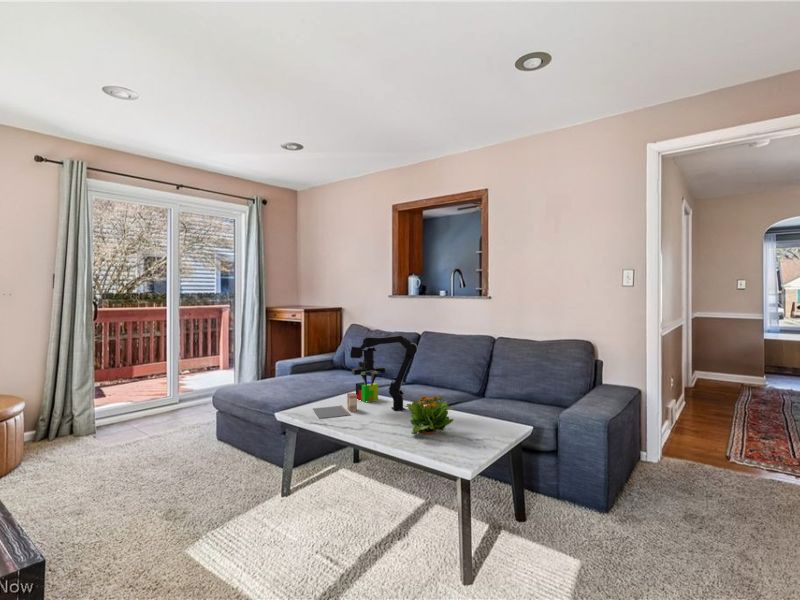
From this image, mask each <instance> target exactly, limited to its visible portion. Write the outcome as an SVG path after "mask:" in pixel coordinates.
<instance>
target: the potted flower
mask: <svg viewBox="0 0 800 600" xmlns="http://www.w3.org/2000/svg"><path fill="white" fill-rule="evenodd" d="M442 400H443V395H439V396H438V395H436V394H434V395H433V397H432V398H431V397H428V396H427V395H424V396H421V397H419V401H418V400H415V399H414V400H413V401H412V402H411V403H406V405H404V408H405V407H407V408H408V410H409V411H410V413H411V415H410V417H411V419H410V424H411V426H413V428H412V431H411V432H410V433H411V434H412V435H416V434H418V433H419V434H422V435H426V436H427V435H429V436H430V435H434V434H436V433H437V432H438V431H444V430H445V429H446V426H449V425H450V424H452V423H453V421H454V418H450V416H448V414H449V410H452V409H453V407H451V406H449V404H448V402H447V401H446V400H444V401H443V402H442Z"/></svg>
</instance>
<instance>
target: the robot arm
mask: <svg viewBox="0 0 800 600" xmlns="http://www.w3.org/2000/svg"><path fill="white" fill-rule="evenodd" d="M395 343H396V344H397V343H399V344H400V345H402V347H403V348H405V349H406V350H405V353H404V358H403V361H402V364H401V367H400V369H399V371H398V373H397V376H396V379H395V380H391V382H390V385H389V387H388V390H389V391H388V393H389V395H390V396H391V397H392V404H393V405H392V406H391V407H390V408H391V409H392V410H393V411H395V412H397V411H405V410H406V408H405V407H404V395H405V392H403V391H402V390H401V389H402V384H403V383H402V382H403V380H404V378H405V375H406V373H407V371H408V370H407V369H408V368H409V365H410V363H411V360H412V359H413V358H414V355H415V354H416V353H417V351H418V345H417V344H416V343H415V342H412V341H410V340H409V339H408V338H406V337H405V336H404V335H402V334H399V335H391V336H382V337H378V336H367V337H364V339H363V341H362V344H361V345H360V346H351V349H350V353H349V354H350V359H361V358H363V361H358V364H357V368H355V367H354V368H352V369H351V374H352V375H353V376H361V378H362V380H363V382H364V383H365V386H367V382H368V376H367V374H366V373H370V374H371V377H370V382H371V386H372V385H373V383H375V380H376V378H377V376H379V373H380V374H386V373H387V372H386V370H387V369H386V368H385V367H383V366H376V368H375V358H374V357H375V355H374V354H375V353H374V352H377V351H378V348H377V347H375V346H378V345H385V344H395ZM366 348H367V349H366ZM360 368H361V369H360Z"/></svg>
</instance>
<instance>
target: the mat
mask: <svg viewBox="0 0 800 600" xmlns="http://www.w3.org/2000/svg"><path fill="white" fill-rule="evenodd" d="M313 410H314V411H313ZM312 411H313V412H314V413H315V415H316V417H317V418H318V419H320V418H322V419H328V418H329V417H331V418H340V417H348V416H347V415H350V416H351V415H352V414H351V412H350V411H349V410H348V409H346V408H345V407H344V406H343V405H340V404H339V405H334V406H325V407H317V408H316V407H315V408H312Z"/></svg>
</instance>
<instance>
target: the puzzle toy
mask: <svg viewBox="0 0 800 600" xmlns="http://www.w3.org/2000/svg"><path fill="white" fill-rule="evenodd" d="M355 394H356V395H357V399H358V400H357V401H359V400H361V401H360V402H362V401H364V402H363V403H367V402H366V401H370V402H373V400H375V401H379V384H378V383H377V382H374V383H373V385H372V386H371V381H368V380H367V386H365V383H364V381H362V382H356V383H355Z"/></svg>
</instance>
